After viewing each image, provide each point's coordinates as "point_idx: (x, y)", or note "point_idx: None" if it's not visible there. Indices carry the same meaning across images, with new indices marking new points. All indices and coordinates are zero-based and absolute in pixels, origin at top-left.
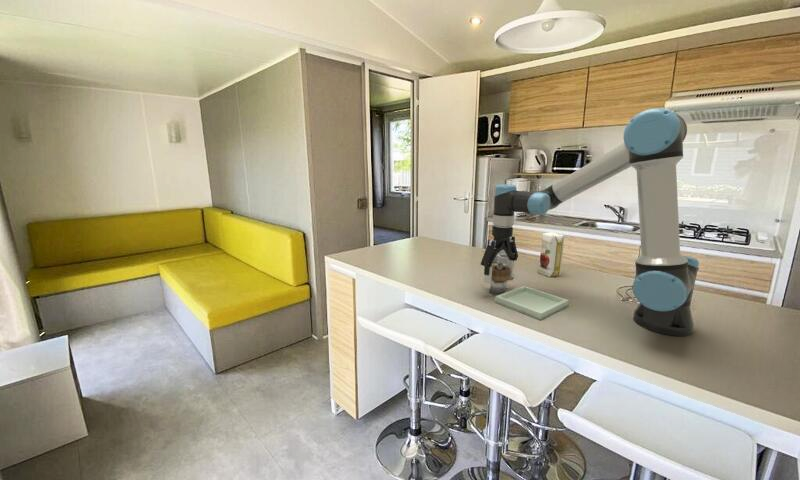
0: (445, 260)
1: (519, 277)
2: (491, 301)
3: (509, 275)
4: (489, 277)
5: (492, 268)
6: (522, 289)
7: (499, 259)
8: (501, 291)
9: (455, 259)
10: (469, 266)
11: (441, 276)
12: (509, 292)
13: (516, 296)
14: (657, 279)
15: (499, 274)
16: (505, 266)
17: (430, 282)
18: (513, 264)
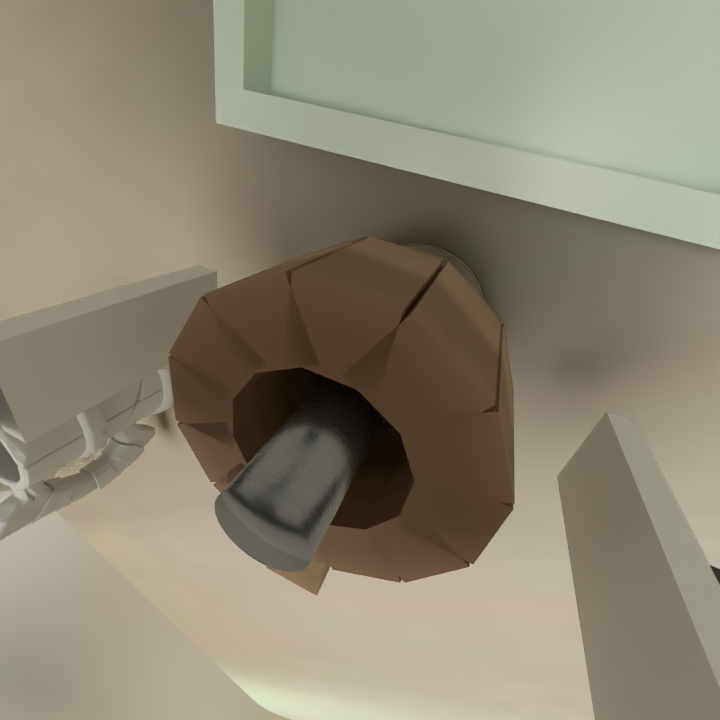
0: (202, 594)
1: (84, 274)
2: (704, 289)
3: (344, 250)
4: (660, 501)
5: (400, 543)
6: (290, 101)
7: (56, 463)
8: (463, 273)
9: (165, 565)
10: (178, 518)
11: (376, 614)
12: (512, 163)
13: (468, 89)
14: None
15: (504, 397)
16: (181, 394)
17: (495, 659)
18: (45, 310)
